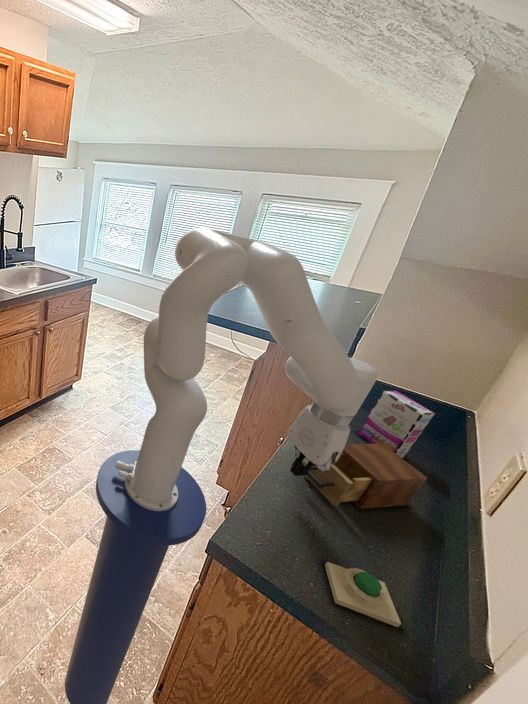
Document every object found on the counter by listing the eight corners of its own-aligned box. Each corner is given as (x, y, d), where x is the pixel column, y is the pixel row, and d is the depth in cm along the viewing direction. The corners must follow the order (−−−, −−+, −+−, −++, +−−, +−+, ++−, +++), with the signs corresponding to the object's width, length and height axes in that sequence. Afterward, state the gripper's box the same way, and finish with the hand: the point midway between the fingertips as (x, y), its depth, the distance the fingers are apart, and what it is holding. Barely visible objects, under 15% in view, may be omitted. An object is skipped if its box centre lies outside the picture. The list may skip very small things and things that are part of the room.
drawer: (318, 507, 89) (333, 484, 86) (287, 473, 98) (300, 450, 95) (377, 503, 92) (394, 480, 89) (342, 470, 101) (356, 448, 98)
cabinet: (359, 509, 91) (379, 480, 87) (322, 471, 101) (338, 444, 97) (405, 505, 94) (427, 478, 89) (364, 469, 104) (382, 443, 99)
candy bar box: (404, 458, 110) (437, 413, 102) (390, 459, 108) (423, 414, 101) (368, 432, 119) (396, 389, 111) (356, 433, 118) (383, 390, 110)
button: (357, 591, 71) (362, 586, 70) (351, 573, 74) (355, 568, 73) (380, 599, 70) (385, 594, 69) (373, 581, 73) (377, 576, 72)
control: (334, 603, 71) (342, 594, 69) (324, 564, 78) (330, 555, 76) (398, 627, 68) (407, 618, 67) (381, 585, 75) (389, 576, 73)
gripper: (291, 392, 88) (263, 451, 96) (345, 436, 75) (306, 500, 83) (319, 391, 89) (289, 449, 98) (376, 435, 76) (336, 498, 85)
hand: (297, 473), depth 90 cm, fingers closed
